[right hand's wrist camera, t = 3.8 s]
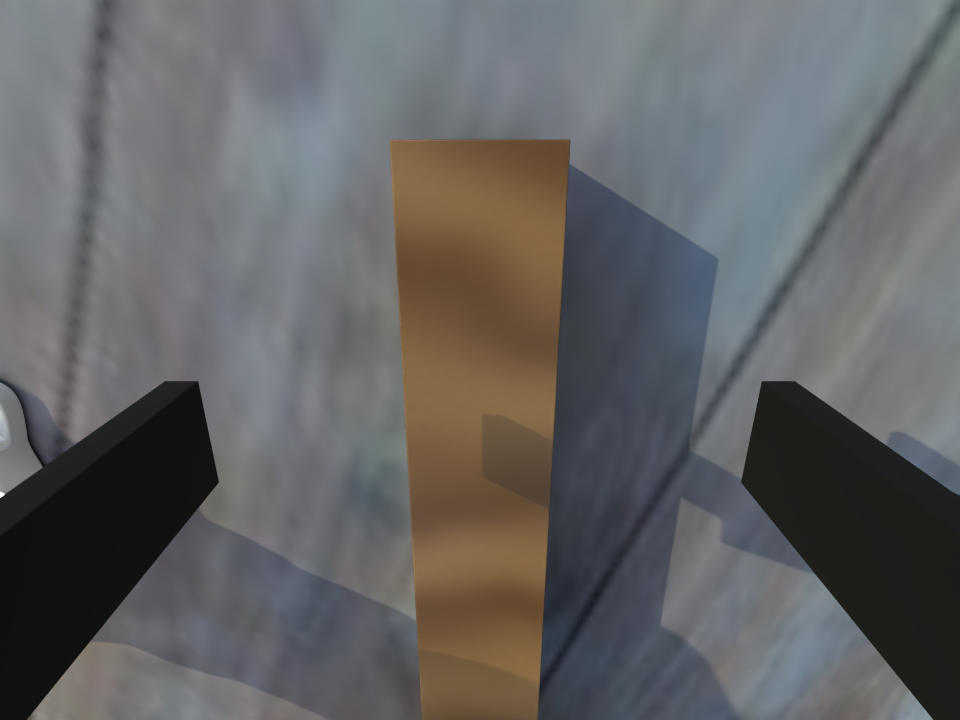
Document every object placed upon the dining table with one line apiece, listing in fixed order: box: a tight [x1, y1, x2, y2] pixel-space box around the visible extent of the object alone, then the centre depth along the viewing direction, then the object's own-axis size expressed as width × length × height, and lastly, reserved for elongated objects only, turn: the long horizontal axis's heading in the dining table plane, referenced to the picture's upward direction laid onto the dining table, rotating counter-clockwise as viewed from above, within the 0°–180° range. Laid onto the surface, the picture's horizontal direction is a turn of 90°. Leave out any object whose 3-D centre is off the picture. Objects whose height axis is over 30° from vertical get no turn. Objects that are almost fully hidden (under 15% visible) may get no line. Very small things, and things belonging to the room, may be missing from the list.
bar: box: [390, 140, 570, 720], centre depth 30 cm, size 54×6×8 cm, turn 0°
